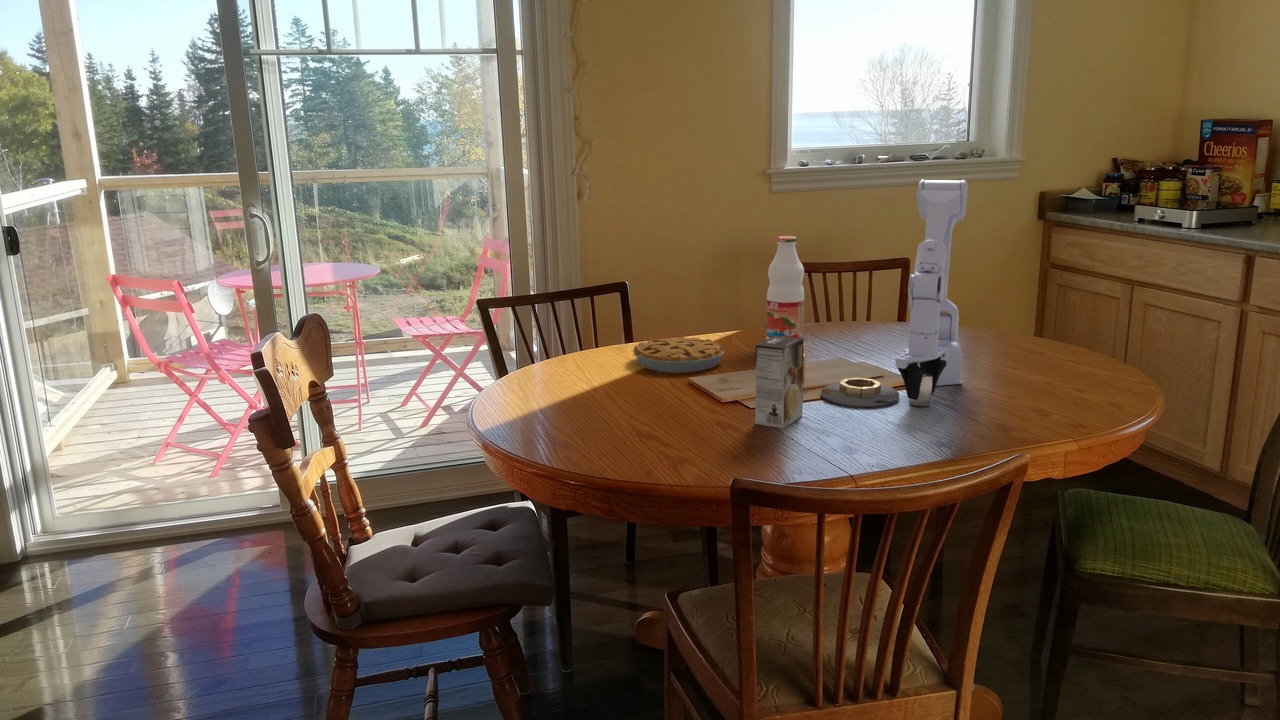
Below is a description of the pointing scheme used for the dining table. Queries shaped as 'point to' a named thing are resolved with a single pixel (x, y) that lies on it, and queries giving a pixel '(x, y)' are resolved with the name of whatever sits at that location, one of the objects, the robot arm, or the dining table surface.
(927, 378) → the piston
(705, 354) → the pie
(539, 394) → the dining table surface
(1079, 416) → the dining table surface
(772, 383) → the coffee box
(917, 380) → the robot arm
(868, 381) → the ring collar
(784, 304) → the fruit juice
